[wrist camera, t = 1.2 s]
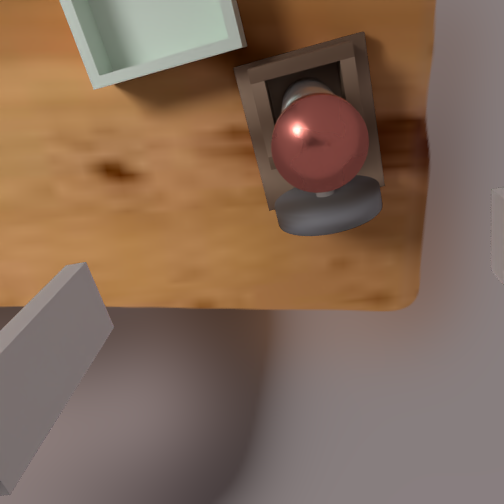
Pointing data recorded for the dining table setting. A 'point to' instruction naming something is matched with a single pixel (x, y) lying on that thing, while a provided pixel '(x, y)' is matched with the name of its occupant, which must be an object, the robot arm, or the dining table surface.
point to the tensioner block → (269, 109)
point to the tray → (150, 35)
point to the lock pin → (318, 138)
